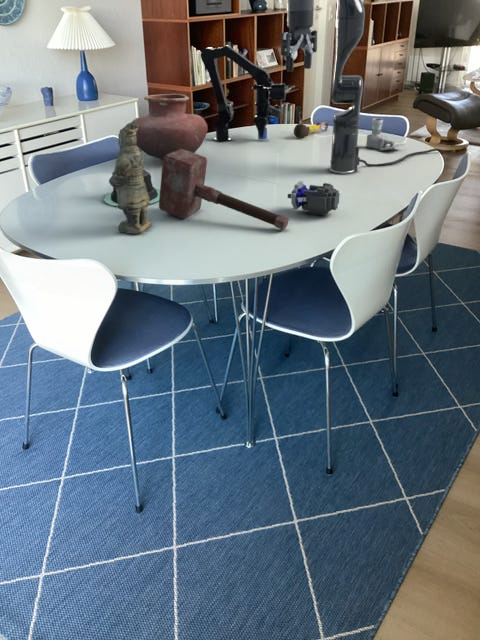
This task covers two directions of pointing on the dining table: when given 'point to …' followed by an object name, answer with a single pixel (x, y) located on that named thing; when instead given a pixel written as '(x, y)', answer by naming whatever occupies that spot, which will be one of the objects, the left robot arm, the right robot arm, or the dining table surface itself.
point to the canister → (263, 134)
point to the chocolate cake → (152, 192)
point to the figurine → (307, 129)
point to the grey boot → (379, 137)
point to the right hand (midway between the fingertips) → (298, 70)
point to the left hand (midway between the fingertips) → (262, 136)
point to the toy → (315, 198)
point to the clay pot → (169, 126)
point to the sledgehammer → (200, 190)
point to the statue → (131, 182)
